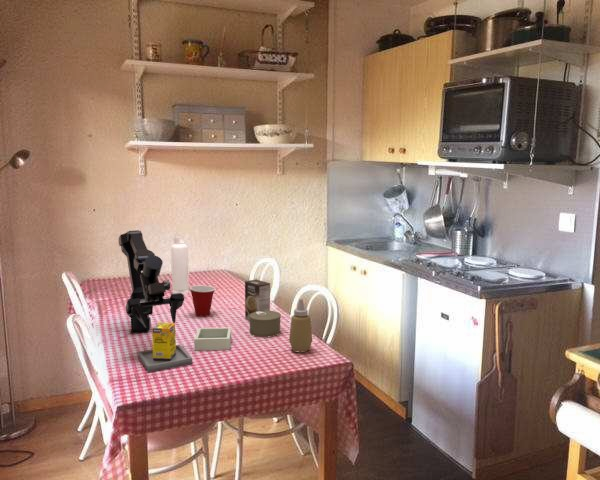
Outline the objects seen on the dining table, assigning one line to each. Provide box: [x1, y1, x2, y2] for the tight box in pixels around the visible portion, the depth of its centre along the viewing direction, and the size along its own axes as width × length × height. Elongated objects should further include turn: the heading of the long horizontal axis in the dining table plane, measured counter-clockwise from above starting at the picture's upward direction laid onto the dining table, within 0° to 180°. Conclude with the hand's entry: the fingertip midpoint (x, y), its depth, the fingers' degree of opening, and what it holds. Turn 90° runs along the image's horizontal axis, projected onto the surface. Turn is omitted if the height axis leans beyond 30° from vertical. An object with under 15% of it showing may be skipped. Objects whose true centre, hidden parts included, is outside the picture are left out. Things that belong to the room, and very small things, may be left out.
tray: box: [137, 344, 193, 373], centre depth 169 cm, size 14×14×2 cm
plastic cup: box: [189, 284, 216, 318], centre depth 219 cm, size 11×11×12 cm
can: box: [249, 310, 282, 338], centre depth 198 cm, size 12×12×7 cm
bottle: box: [170, 235, 190, 296], centre depth 254 cm, size 8×8×28 cm
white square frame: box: [194, 327, 232, 351], centre depth 185 cm, size 12×12×4 cm
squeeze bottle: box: [288, 298, 313, 353], centre depth 178 cm, size 8×8×18 cm
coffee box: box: [244, 278, 271, 322], centre depth 212 cm, size 9×6×16 cm
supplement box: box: [151, 322, 177, 361], centre depth 169 cm, size 6×6×11 cm
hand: (160, 325), depth 171 cm, fingers open, 9 cm apart
